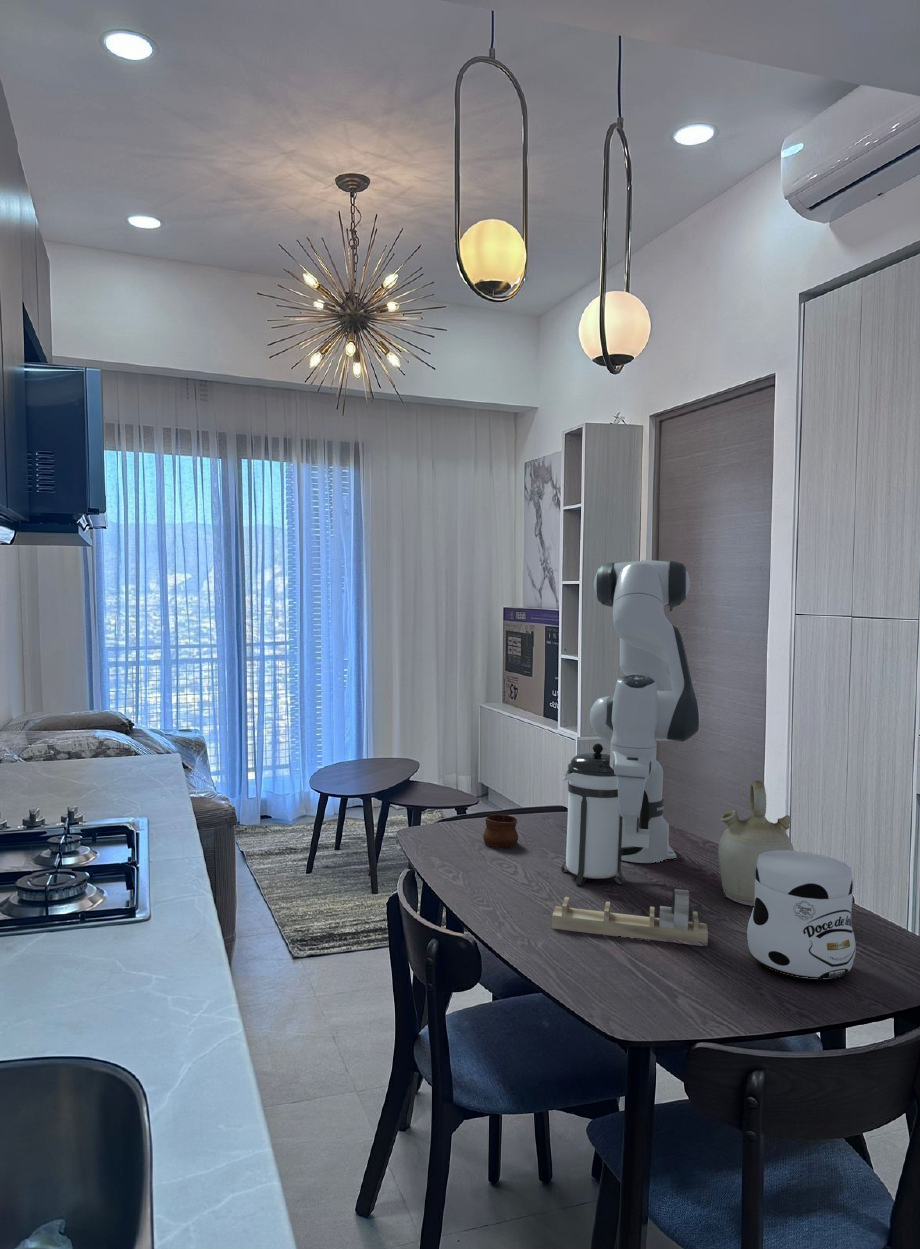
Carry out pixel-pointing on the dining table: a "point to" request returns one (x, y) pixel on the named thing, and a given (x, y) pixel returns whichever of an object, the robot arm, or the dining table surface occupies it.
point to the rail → (635, 921)
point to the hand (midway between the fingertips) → (629, 829)
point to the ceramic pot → (500, 831)
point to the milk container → (802, 915)
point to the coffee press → (596, 819)
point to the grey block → (636, 836)
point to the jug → (749, 844)
